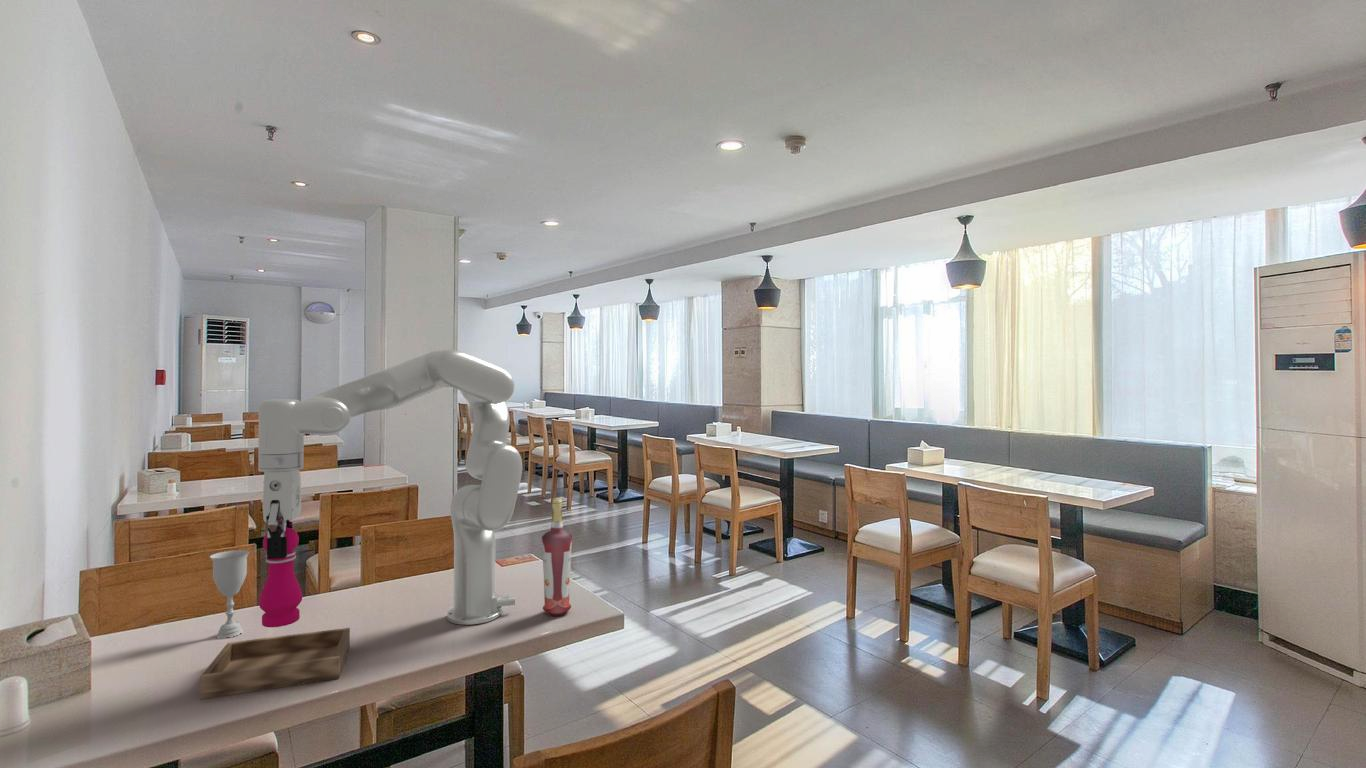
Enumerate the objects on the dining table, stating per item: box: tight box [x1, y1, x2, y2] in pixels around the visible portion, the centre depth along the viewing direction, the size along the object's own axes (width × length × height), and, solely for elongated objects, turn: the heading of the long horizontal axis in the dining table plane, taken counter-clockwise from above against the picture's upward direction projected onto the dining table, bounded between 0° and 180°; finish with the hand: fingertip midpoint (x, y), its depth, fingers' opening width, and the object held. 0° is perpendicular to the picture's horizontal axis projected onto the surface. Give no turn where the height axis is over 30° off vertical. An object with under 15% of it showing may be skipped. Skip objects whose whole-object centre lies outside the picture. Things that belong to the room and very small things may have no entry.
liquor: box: [541, 497, 573, 617], centre depth 156 cm, size 7×7×28 cm
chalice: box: [209, 549, 250, 639], centre depth 143 cm, size 7×7×18 cm
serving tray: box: [199, 627, 351, 700], centre depth 125 cm, size 22×16×4 cm
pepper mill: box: [258, 519, 303, 628], centre depth 125 cm, size 7×7×20 cm
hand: (281, 552), depth 125 cm, fingers closed on pepper mill, 5 cm apart
